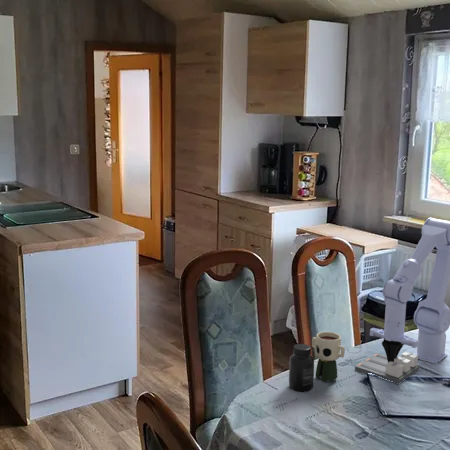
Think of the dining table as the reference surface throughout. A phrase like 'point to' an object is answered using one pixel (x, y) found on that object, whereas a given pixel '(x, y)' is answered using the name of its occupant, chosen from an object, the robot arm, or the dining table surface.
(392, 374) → the block
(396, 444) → the dining table surface
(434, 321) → the robot arm
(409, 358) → the block
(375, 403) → the dining table surface
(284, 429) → the dining table surface
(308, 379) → the supplement bottle
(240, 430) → the dining table surface
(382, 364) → the panel
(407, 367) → the block
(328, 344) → the character mug
